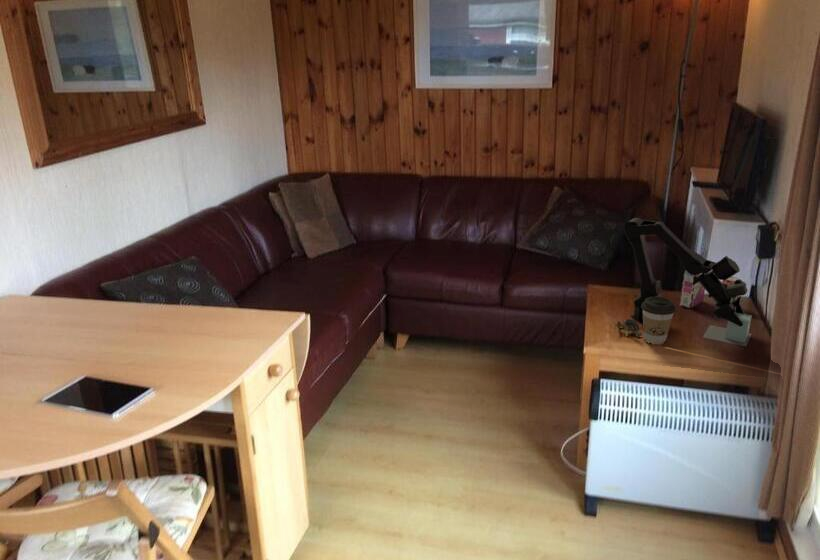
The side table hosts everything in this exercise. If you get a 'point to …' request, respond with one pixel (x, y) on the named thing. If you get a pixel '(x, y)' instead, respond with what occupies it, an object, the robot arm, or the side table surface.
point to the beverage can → (730, 281)
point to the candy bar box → (691, 291)
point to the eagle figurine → (629, 327)
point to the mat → (722, 335)
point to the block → (739, 329)
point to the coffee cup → (657, 319)
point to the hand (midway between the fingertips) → (743, 322)
